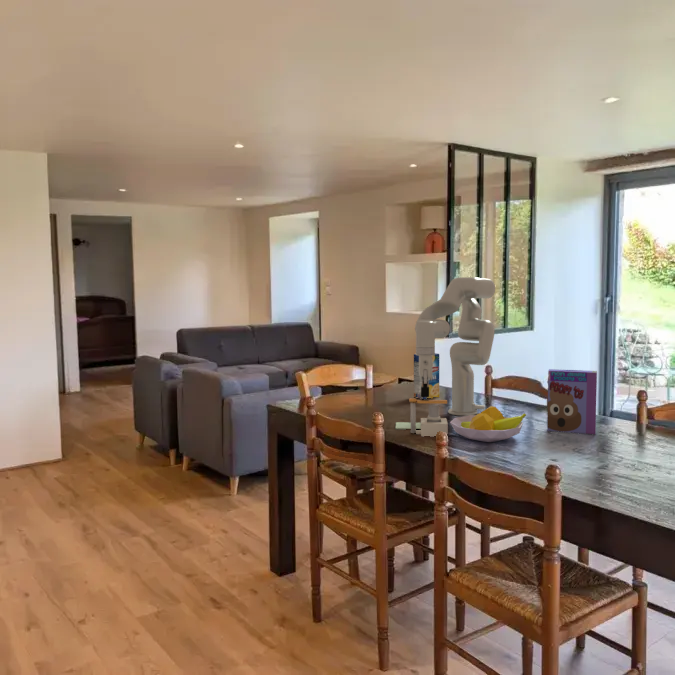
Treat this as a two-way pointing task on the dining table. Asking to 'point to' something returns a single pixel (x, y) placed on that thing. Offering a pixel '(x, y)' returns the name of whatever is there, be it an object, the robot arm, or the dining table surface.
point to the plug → (433, 413)
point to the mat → (406, 425)
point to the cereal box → (572, 401)
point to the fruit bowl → (488, 425)
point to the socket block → (427, 424)
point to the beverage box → (432, 383)
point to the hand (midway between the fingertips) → (425, 396)
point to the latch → (427, 401)
